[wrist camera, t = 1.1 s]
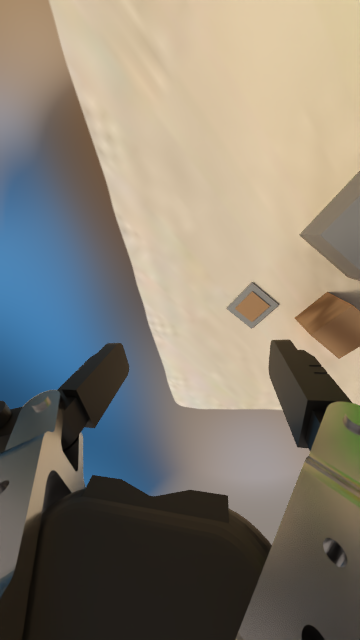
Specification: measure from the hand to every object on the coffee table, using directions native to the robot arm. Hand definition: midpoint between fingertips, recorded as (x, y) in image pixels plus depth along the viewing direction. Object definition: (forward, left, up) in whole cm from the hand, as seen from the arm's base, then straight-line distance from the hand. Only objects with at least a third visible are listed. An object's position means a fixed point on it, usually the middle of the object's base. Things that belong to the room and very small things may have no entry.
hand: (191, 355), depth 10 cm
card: (0, +10, -23) cm, 25 cm away
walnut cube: (-6, +20, -23) cm, 31 cm away
